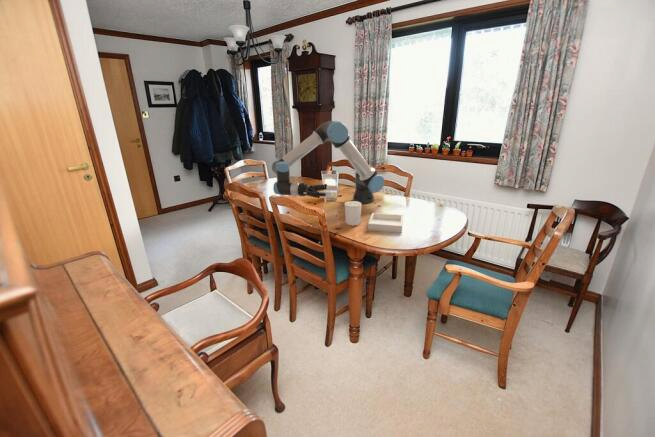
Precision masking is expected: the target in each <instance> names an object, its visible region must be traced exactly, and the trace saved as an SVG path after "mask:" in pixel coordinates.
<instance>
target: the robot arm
mask: <svg viewBox="0 0 655 437" xmlns="http://www.w3.org/2000/svg"><path fill="white" fill-rule="evenodd" d="M351 137H352V135H351V134H350V133H349V129H348V127H347V125H346V124H345V123H344V122H341V121H338V120H336V121H334V120H328V121H325V122H323V123H322V124H320V125H319V126H318V127H317V128H316V129H315V130H313V131H312V134H310V136H308V137H306V138H305V139H304V140H303V141H301V142H300V143H299V144H298V145H296V146H295V147H294V148H293V149H292V150H290V151H289V152H287V153H286V154H285V155H284V156H282V157H281V158H279V159H278V160H275V161H273V162H272V163H271V170H272V172H273V173H274V174H276V181H275V182H273V183H274V184H273V188H272V189H273V192H274V194H275V195H280V196H294V197H297V196H298V197H299V196H300V197H306V196H307V197H311V198H316V199H320V197H323V198H332V195H333V194H332V193H333V192H332V191H336V192H337V191H338V185H328V184H327V183H325V184H310V185H309V186H308V185H307V183H305V182H291V178H290V168H291V167H292V166H293V165H295V164H297V162H299V161H300V160H301V159H303V157H305V156H306V155H307V154H309V153H310V152H311V151H313V150H314V149H315V148H317V147H318V146H319V145H324V143H326V142H330V143H331V144H332V146H333V147H334V148H335V149H338V150H339V151H340V152H341V153H342V155H343V156H344V157H345V159H347V161H348V162H349V164H350V165H351V167H353V169H354V170H355V181H354V183H355V187H354V188H355V190H354V193H353V195H352V196H353V197H352V201H358V202H361V203H362V204H370V203H373V202H374V201H375V196H374V193H378V192H380V191H382V189H384V187H385V183H386V181H385V178H384V176H382V174H379V173H378V171H377V170H376V168H374V167H371V165H369V163H368V162H367V161H366V159H365V158H364V157H363V155H362V154H361V152H360V151H359V149H358V148H357V147H356V145H355V144H354V143H353V141H352V140H351ZM324 190H325V191H324Z"/></svg>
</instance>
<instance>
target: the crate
mask: <svg viewBox="0 0 655 437" xmlns="http://www.w3.org/2000/svg"><path fill="white" fill-rule="evenodd" d="M403 224H404V214H400V213H398V214H397V213H387V212H386V213H383V212H382V213H381V212H372V213H371V215H370V217H369V220H368V223H367V231H371V232H373V231H374V232H382V233H383V232H385V233H398V234H399V233H400V234H402V232H403Z"/></svg>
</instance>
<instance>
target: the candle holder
mask: <svg viewBox="0 0 655 437" xmlns="http://www.w3.org/2000/svg"><path fill="white" fill-rule="evenodd" d="M362 205H363V203H361V202H358V201H353V200H350V201H346V202H344V214H345V215H344V216H345V223H346V225H348V226H351V225H352V227H353V226H354V225H356V226H360V224H361V220H362V218H361V217H362Z"/></svg>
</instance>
